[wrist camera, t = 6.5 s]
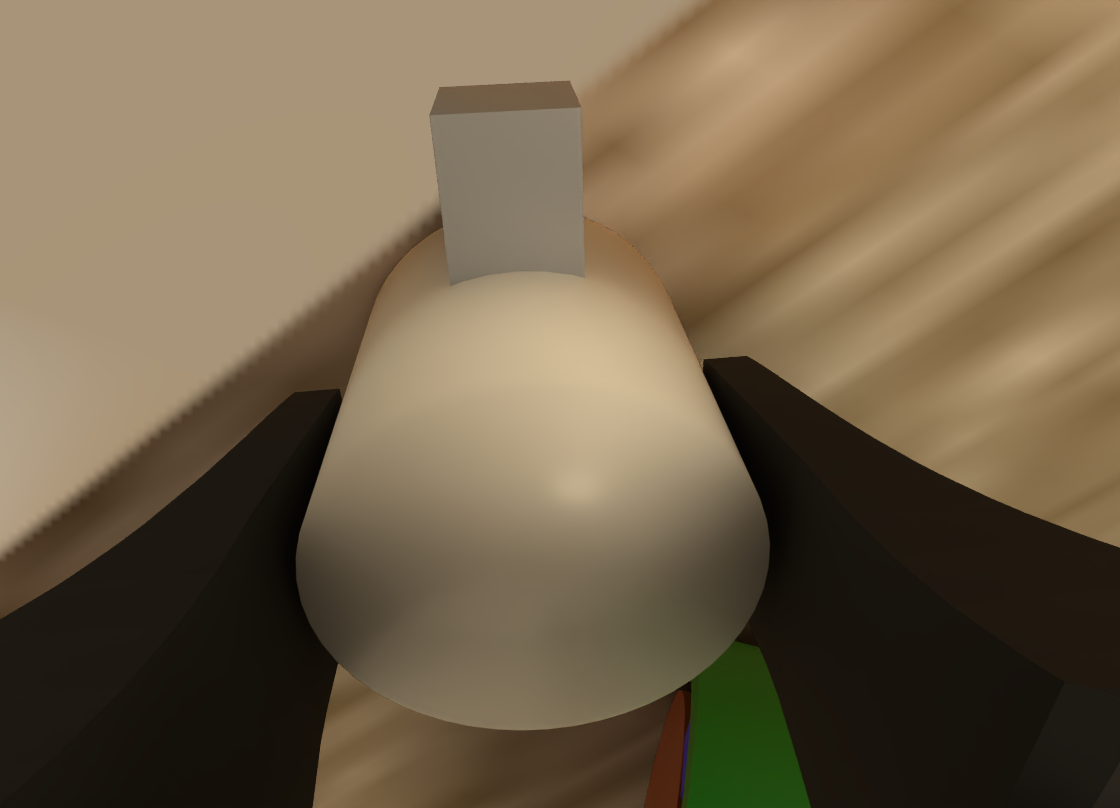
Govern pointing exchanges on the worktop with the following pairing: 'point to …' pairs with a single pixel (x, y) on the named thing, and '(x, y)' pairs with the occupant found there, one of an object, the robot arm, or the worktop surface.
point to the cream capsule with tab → (527, 455)
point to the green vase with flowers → (727, 741)
